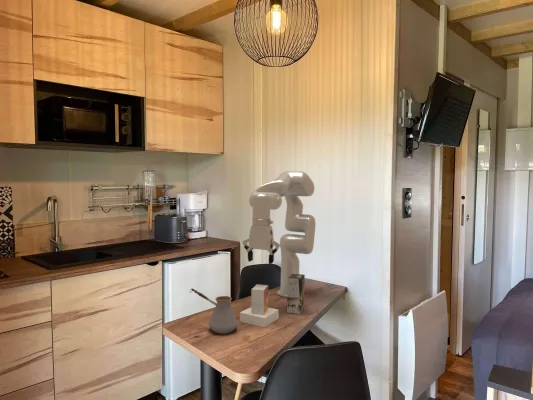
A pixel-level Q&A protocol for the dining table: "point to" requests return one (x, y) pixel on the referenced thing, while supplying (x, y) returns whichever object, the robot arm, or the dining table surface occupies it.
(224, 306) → the coffee pot
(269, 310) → the cream white block
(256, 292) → the small box
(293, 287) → the coffee box
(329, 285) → the dining table surface
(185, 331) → the dining table surface
